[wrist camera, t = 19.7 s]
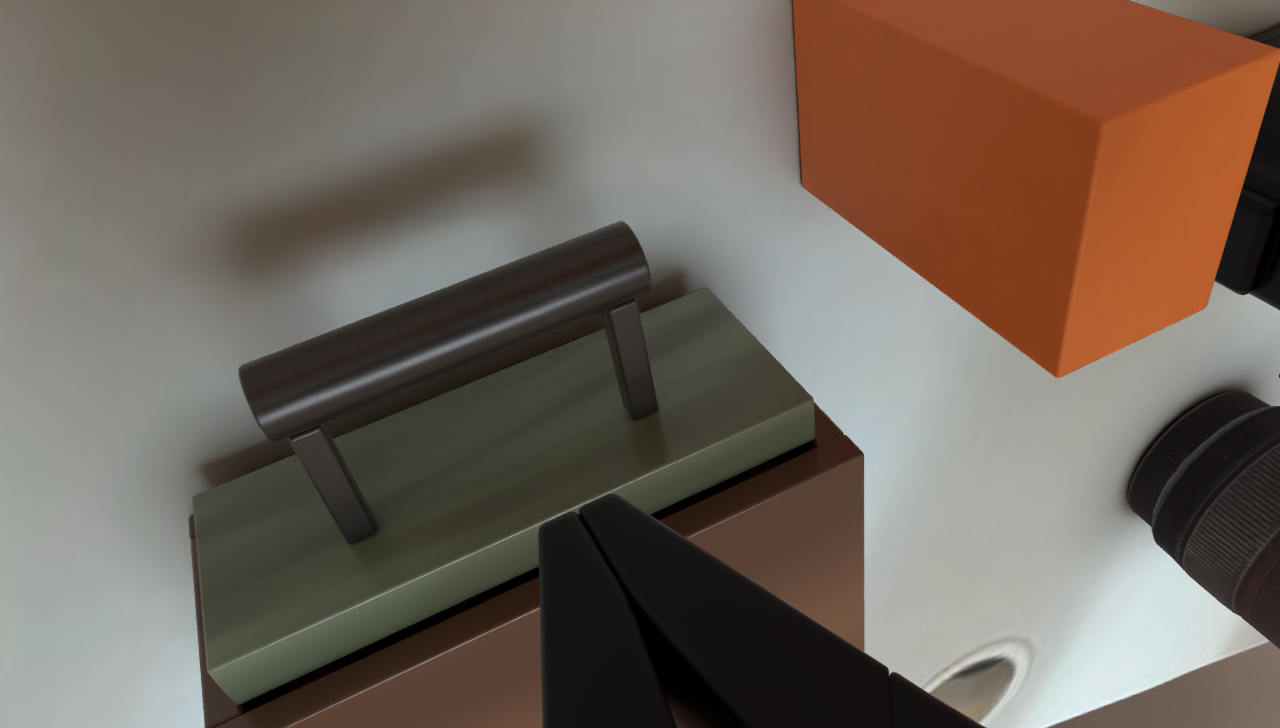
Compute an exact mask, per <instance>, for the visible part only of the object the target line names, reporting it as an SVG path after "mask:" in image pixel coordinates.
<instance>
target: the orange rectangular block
mask: <svg viewBox="0 0 1280 728" xmlns="http://www.w3.org/2000/svg"><path fill="white" fill-rule="evenodd" d="M793 12H794V32H795V51H796V71H797V90H798V110H799V129H800V149H801V169H802V185H803V188H804V189H806V190H807V191H808V192H810V193H811V194H812V195H814V196H815V197H816V198H818V199H819V200H820V201H822V202H823V203H824V204H826V205H827V206H828V207H830V208H831V209H832V210H834V211H835V212H836V213H838V214H839V215H840V216H842V217H843V218H844V219H846V220H847V221H848V222H850V223H851V224H852V225H854V226H855V227H856V228H858V229H859V230H860V231H862V232H863V233H864V234H866V235H867V236H868V237H870V238H871V239H872V240H874V241H875V242H876V243H878V244H879V245H880V246H882V247H883V248H884V249H886V250H887V251H888V252H890V253H891V254H892V255H894V256H895V257H896V258H898V259H899V260H900V261H902V262H903V263H904V264H906V265H907V266H908V267H910V268H911V269H912V270H914V271H915V272H916V273H918V274H919V275H920V276H922V277H923V278H924V279H926V280H927V281H928V282H930V283H931V284H932V285H934V286H935V287H936V288H938V289H939V290H940V291H942V292H943V293H944V294H946V295H947V296H948V297H950V298H951V299H952V300H954V301H955V302H956V303H958V304H959V305H960V306H962V307H963V308H964V309H966V310H967V311H968V312H970V313H971V314H972V315H974V316H975V317H976V318H978V319H979V320H980V321H982V322H983V323H984V324H986V325H987V326H988V327H990V328H991V329H992V330H994V331H995V332H996V333H998V334H999V335H1000V336H1002V337H1003V338H1004V339H1006V340H1007V341H1008V342H1010V343H1011V344H1012V345H1014V346H1015V347H1016V348H1018V349H1019V350H1020V351H1022V352H1023V353H1024V354H1026V355H1027V356H1028V357H1030V358H1031V359H1032V360H1034V361H1035V362H1036V363H1038V364H1039V365H1040V366H1042V367H1043V368H1044V369H1046V370H1047V371H1048V372H1050V373H1051V374H1052V375H1053V376H1055V377H1057V378H1059V377H1062V376H1064V375H1066V374H1068V373H1071V372H1073V371H1075V370H1077V369H1079V368H1081V367H1083V366H1085V365H1087V364H1089V363H1092V362H1094V361H1096V360H1098V359H1100V358H1102V357H1104V356H1106V355H1108V354H1110V353H1113V352H1115V351H1117V350H1119V349H1121V348H1123V347H1125V346H1127V345H1129V344H1131V343H1134V342H1136V341H1138V340H1140V339H1142V338H1144V337H1146V336H1148V335H1150V334H1152V333H1155V332H1157V331H1159V330H1161V329H1163V328H1165V327H1167V326H1169V325H1171V324H1173V323H1176V322H1178V321H1180V320H1182V319H1184V318H1186V317H1188V316H1190V315H1192V314H1194V313H1197V312H1199V311H1201V310H1203V309H1204V308H1205V307H1206V306H1207V304H1208V300H1209V297H1210V294H1211V290H1212V287H1213V284H1214V280H1215V277H1216V274H1217V270H1218V267H1219V264H1220V260H1221V257H1222V253H1223V250H1224V247H1225V243H1226V240H1227V237H1228V233H1229V230H1230V227H1231V223H1232V220H1233V217H1234V213H1235V210H1236V207H1237V203H1238V200H1239V197H1240V193H1241V190H1242V187H1243V183H1244V180H1245V177H1246V173H1247V170H1248V166H1249V163H1250V160H1251V156H1252V153H1253V150H1254V146H1255V143H1256V140H1257V136H1258V133H1259V130H1260V126H1261V123H1262V120H1263V116H1264V113H1265V110H1266V106H1267V103H1268V100H1269V96H1270V93H1271V89H1272V86H1273V83H1274V79H1275V76H1276V73H1277V69H1278V66H1279V63H1280V49H1278V48H1275V47H1272V46H1269V45H1266V44H1263V43H1260V42H1257V41H1254V40H1250V39H1247V38H1244V37H1241V36H1238V35H1235V34H1232V33H1229V32H1225V31H1222V30H1219V29H1216V28H1213V27H1210V26H1207V25H1204V24H1200V23H1197V22H1194V21H1191V20H1188V19H1185V18H1182V17H1179V16H1176V15H1172V14H1169V13H1166V12H1163V11H1160V10H1157V9H1154V8H1151V7H1147V6H1144V5H1141V4H1138V3H1135V2H1132V1H1129V0H793Z"/></svg>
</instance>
